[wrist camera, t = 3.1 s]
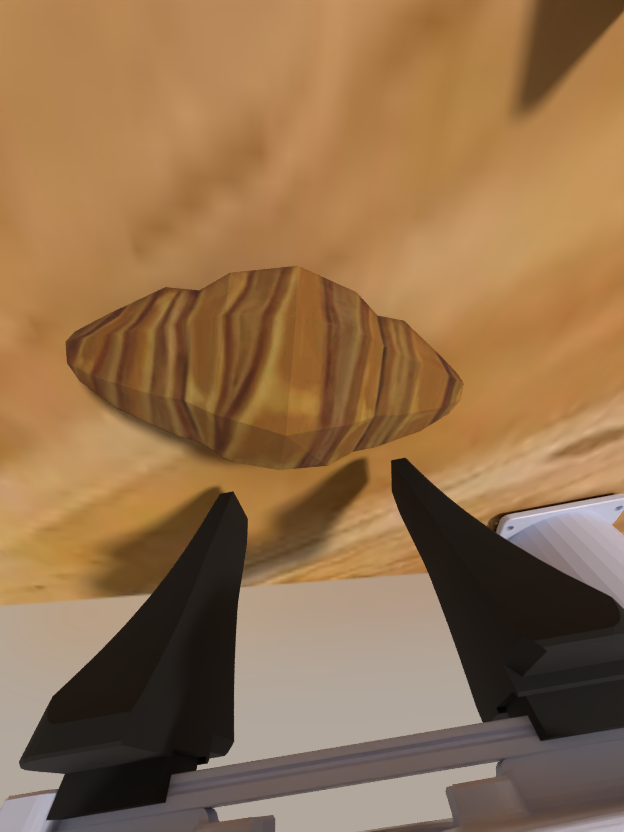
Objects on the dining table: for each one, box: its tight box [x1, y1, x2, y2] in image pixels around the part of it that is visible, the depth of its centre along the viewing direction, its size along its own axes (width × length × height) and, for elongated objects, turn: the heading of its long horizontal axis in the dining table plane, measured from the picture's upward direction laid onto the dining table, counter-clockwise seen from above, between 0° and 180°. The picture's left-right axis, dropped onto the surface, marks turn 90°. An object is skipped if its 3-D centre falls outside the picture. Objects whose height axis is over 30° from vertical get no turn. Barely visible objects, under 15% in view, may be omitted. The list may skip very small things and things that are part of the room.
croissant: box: [66, 266, 464, 470], centre depth 8 cm, size 14×7×5 cm, turn 82°
